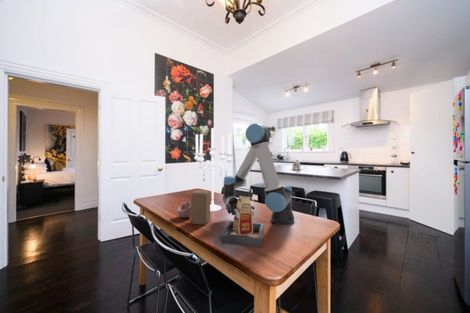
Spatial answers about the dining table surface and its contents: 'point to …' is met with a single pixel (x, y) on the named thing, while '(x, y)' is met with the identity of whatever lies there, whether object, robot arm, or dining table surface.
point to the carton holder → (243, 239)
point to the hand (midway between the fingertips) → (246, 214)
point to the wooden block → (200, 207)
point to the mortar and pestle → (184, 210)
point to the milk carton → (243, 217)
